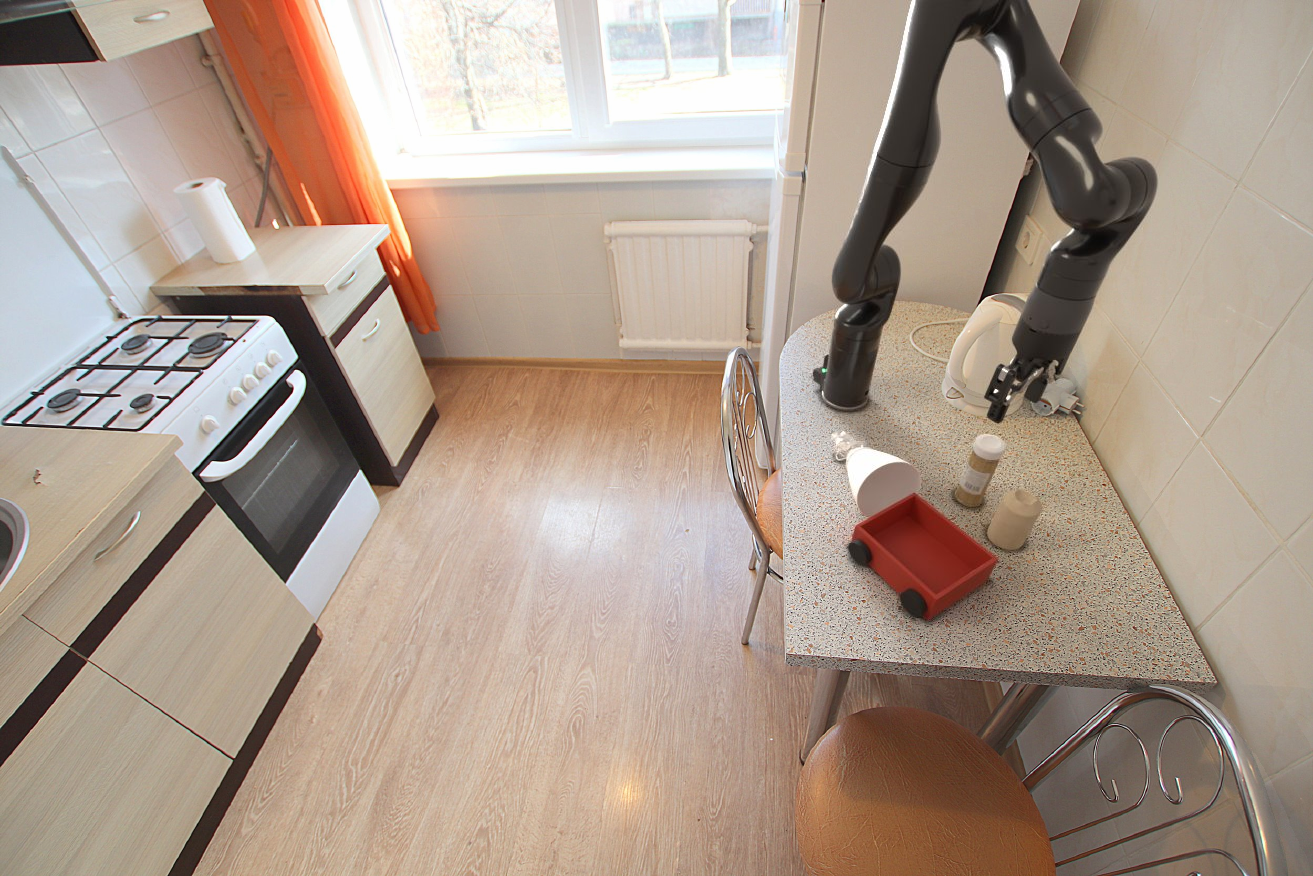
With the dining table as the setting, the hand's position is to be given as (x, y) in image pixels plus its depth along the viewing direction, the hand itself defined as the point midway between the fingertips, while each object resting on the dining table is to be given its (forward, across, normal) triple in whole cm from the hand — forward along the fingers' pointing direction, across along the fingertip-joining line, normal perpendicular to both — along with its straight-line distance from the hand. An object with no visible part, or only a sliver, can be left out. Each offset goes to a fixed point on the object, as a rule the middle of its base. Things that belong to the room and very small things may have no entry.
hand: (1012, 409), depth 93 cm
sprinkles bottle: (+21, 0, -1) cm, 21 cm away
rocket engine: (+21, +11, -13) cm, 27 cm away
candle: (+21, +2, +8) cm, 23 cm away
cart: (+21, +18, +4) cm, 28 cm away
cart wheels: (+21, +18, +4) cm, 28 cm away
